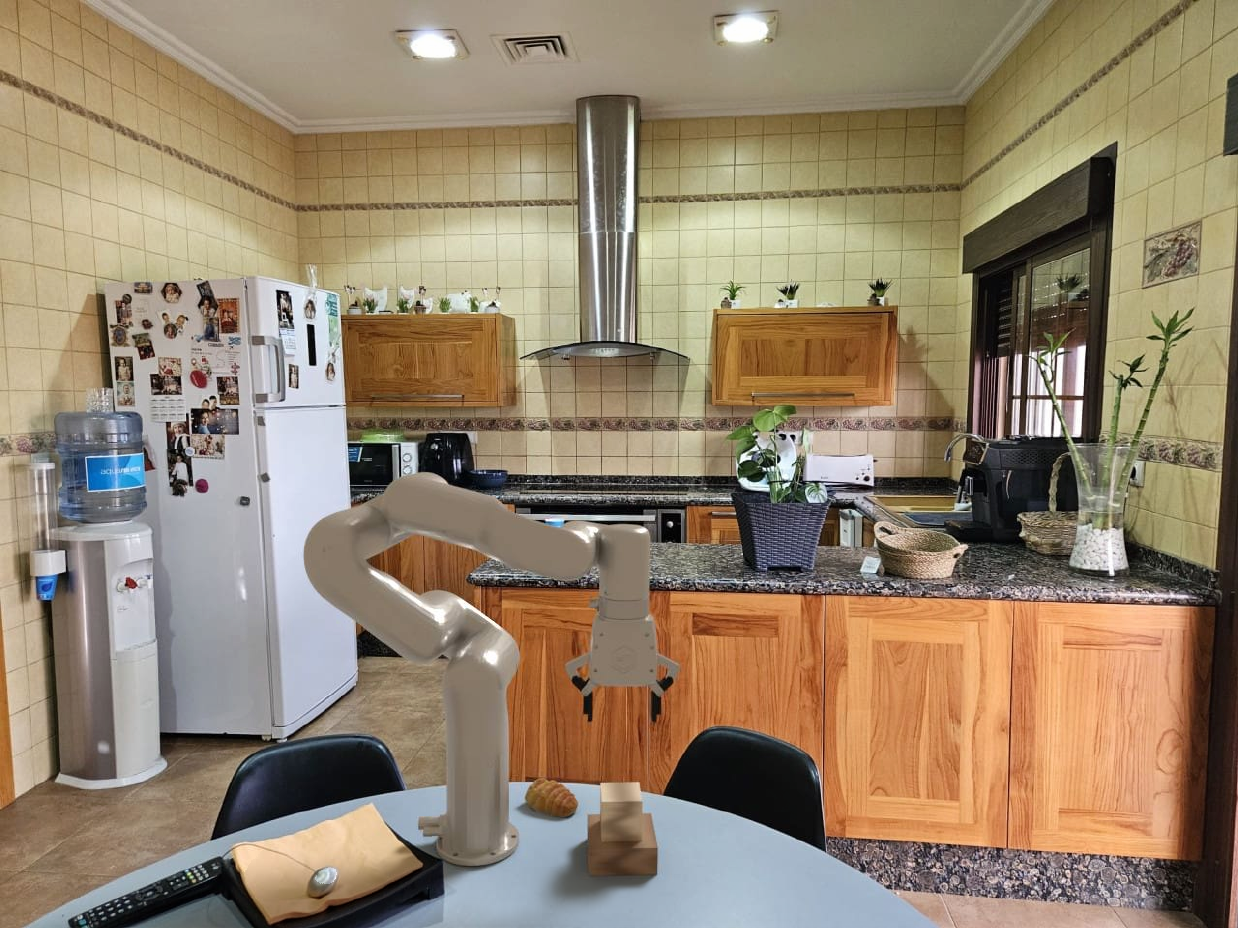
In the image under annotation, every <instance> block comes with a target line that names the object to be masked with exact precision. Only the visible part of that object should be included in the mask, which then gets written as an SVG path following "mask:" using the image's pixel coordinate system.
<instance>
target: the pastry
mask: <svg viewBox="0 0 1238 928" xmlns="http://www.w3.org/2000/svg"><path fill="white" fill-rule="evenodd" d="M524 800H525V802H526V804H527V805H528V807H529V809H533V810H534V811H535V812H537V811H538V812H537V813H540V812H541V813H540V814H544V815H547V814H548V815H547V816H551V815H552V817H555V816H556V817H557V818H559V817H560V818H562V817H563V818H567V817H569V816H571V815H573V814H575V813H576V811H577V809H578V806H579V801H578V800H577V798H576V795H575V794H573V793H571V791H570V789H569V788H566V786H565V785H563V784H562V783H559V782H557V781H556V780H555V779H554V780H553V779H551V780H547V779H546V778H543V777H540V778H537V779H535V780H534V781H532V784H530V785H529V786H528V788H527V790H526V793H525V797H524Z"/></svg>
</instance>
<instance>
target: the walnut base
mask: <svg viewBox="0 0 1238 928" xmlns="http://www.w3.org/2000/svg"><path fill="white" fill-rule="evenodd" d="M654 827H655V826H654V822H653V817H652V813H651V812H642V841H601V826H600V813H593V814H592V813H589V814H588V813H587V860H588V861H587V862H588V863H587V865H588V876H589V877H593V876H595V877H599V876H600V877H601V876H634V875H635V876H637V875H639V876H640V875H644V876H645V875H658V861H659V860H658V858H659V857H658V855H659V847H658V842H657V838H656V833H655V828H654Z"/></svg>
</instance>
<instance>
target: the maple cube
mask: <svg viewBox="0 0 1238 928" xmlns="http://www.w3.org/2000/svg"><path fill="white" fill-rule="evenodd" d="M599 788H600V793H599V794H600V798H599V799H600V801H599V802H600V803H599V805H600V807H599V812H600V813H599V814H600V826H601V841H642V813H643V802H644V801H643V797H642V791H641V784H640V781H639V782H638V781H637V782H636V781H635V782H632V781H631V782H627V781H626V782H600V787H599Z"/></svg>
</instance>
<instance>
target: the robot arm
mask: <svg viewBox="0 0 1238 928" xmlns="http://www.w3.org/2000/svg"><path fill="white" fill-rule="evenodd" d="M414 535H418V536H422V537H426V538H429V539H433V540H436V541H440V542H445V543H448V544H452V545H456V546H458V547H459V546H460V547H462V548H466V549H470V550H473V551H476V552H478V553H480V554H482V555H483V556H485V557H487V558H490V559H492V560H494V561H497V562H499V563H501V564H503V565H505V566H508V567H510V568H513V569H516V570H519V571H522V572H525V573H529V574H534V575H538V576H540V577H544V578H548V579H552V580H556V581H564V582H571V581H576V580H579V579H581V578H583V577H584V576H586V575H587V574H588V573H589V572H590V571H591V569H592V568H598V571H599V583H598V585H599V589H598V590H599V591H598V596H597V597H596V598H594V599H589V609H594V610H596V611H597V613H596V614H594V617H593V621H592V626H591V632H590V634H591V635H590V639H589V640H590V641H589V651H588V652H586V653H583V654H581V655H580V656H577V657H576V658H574V659H572V660H569V661H567V662H566V663H565V667H564V669H565V671H566V672H567V675H568V677H569V679H570V681H571V683H572V684H573V685H574V687H575V688H577V690H579V692H581V695H583V697H582V698H583V699H582V700H583V701H582V702H583V704H582V708H583V709H582V711H583V712H582V715H587V723H591V722H593V716H594V714H593V710H594V708H593V706H594V703H593V702H594V692H593V690H594V689H595V688H596V687H597V686H599V687H649V688H650V689H651V690H652V691H650V710H649V711H650V712H649V713H650V718H651V719H650V721H651V722H653V723H657V720H658V719H657V717H658V716H660V715H662V696H663V695H664V694H665V692H666V691H667V690H669V688H670V687H671V686H672V685H673V684H674V682H675V680H676V679H677V676H678V675H679V673H680V671H681V666H680V665H681V664H679V663H678V662H676V661H674V660H672V659H670V658H668V657H667V656H666V655H663V654H661V653H659V652H658V643H657V641H658V639H657V631H656V629H657V628H656V623H655V622H656V621H655V619H654V617H653V615H652V614H650V581H651V580H650V579H651V578H650V574H651V572H650V571H651V569H650V568H651V534H650V532H649V530H648V528H646V527H644V526H642V525H639V524H628V523H617V524H609V525H608V524H604V523H603V524H602V523H596V522H592V521H591V522H590V521H585V520H571V521H567V522H565V523H563V524H562V525H561V526H556V525H552V524H548V523H545V522H541V521H538V520H534V519H531V518H528V517H525V516H523V515H520V514H518V513H515V512H514V511H512V510H510V509H509V508H507V507H506V506H505V505H504V504H503V502H501V501H500V500H499V499H497V498H496V497H495V496H492V495H489V494H485V493H481V492H477V491H474V490H470V489H467V488H463V487H459V486H455V485H452V484H449V483H448V481H447V480H446V479H444V478H443V477H442V476H440V475H438V474H436V473H434V472H428V471H427V472H426V471H420V472H415V473H412V474H407V475H402V476H399V477H398V478H396V479H394V480H392V482H390V483H389V484H388V486H387V487H386V488H385V490H384V492H383V493H381V494H379V495H377V496H376V497H374V498H371V499H370V500H368V501H366V502H364V503H362V504H360V505H356V506H354V507H350V508H347V509H343V510H339V511H335V512H333V513H330V514H328V515H327V516H324V517H323V518H321V519H320V520H318V521H317V522H316V523H314V525H313V526H312V528H311V529H310V531H309V532H308V534H307V537H306V538H305V540H304V541H305V542H304V547H303V552H302V553H303V557H302V558H303V565H304V569H305V573H306V576H307V578H308V580H309V582H310V584H311V585H312V587H313V588H314V590H315V591H316V592H317V594H318V595H320V596H321V597H322V598H323V599H324V600H325V601H326V602H327V603H329V604H330V605H331V606H333V607H334V608H336V609H337V610H339V611H340V612H341V613H343V614H345V615H346V616H348V617H349V618H351V620H353V621H354V622H356V623H357V624H358V625H360V626H361V627H362V628H363V629H365V630H366V631H367V632H369V633H370V634H371V635H372V636H374V637H376V638H377V639H378V640H379V641H381V642H382V643H383V644H385V645H386V646H387V647H389V648H390V649H391V650H393V651H394V652H396V653H397V654H398V655H399V656H401V657H402V658H404V659H406V660H407V661H409V662H411V663H413V664H417V665H425V664H428V663H432V662H433V661H436V660H437V659H438V658H440V657H441V656H442V655H443V656H444V657H446V658H447V659H449V660H448V662H447V664H446V665H445V668H444V671H443V674H442V680H441V695H442V704H443V709H444V718H445V719H444V721H445V753H446V754H445V757H446V758H445V761H446V764H445V767H446V772H445V773H446V775H445V777H446V779H445V780H446V787H445V788H446V789H445V791H446V793H445V794H446V811H445V814H444V813H443V814H439V816H419V817H418V821H417V829H418V831H422V837H423V838H427V837H428V838H429V837H430V838H431V837H437V838H436V840H435V841H436V843H435V844H436V846H435V848H436V852H437V853H438V855H439V857H440V858H441V859H443V860H444V861H447V862H448V863H451V864H453V865H457V866H461V867H462V866H463V867H479V866H486V865H491V864H494V863H497V862H500V861H502V860H504V859H506V858H507V857H509V856H511V855H512V854H513V853H514V851H515V850H517V848H518V846H519V842H520V838H519V837H520V833H519V831H518V829H517V827H516V826H515V825H514V824H512V823H511V822H510V744H509V743H510V741H509V739H510V727H509V726H510V725H509V713H508V703H507V691H508V686H509V685H510V683H511V681H512V680H513V677H514V676H515V674H516V673H517V670H518V668H519V665H520V661H521V654H520V649H519V646H518V643H517V642H516V640H515V639H514V637H513V636H512V635H511V634H510V633H509V632H508V631H507V630H505V628H503V627H501V626H500V625H499V624H498V623H497V622H495V621H493V620H492V619H491V618H489V617H488V616H486V614H484V613H482V612H481V611H480V610H478V609H477V608H476V607H474V606H473V605H472V604H470V603H469V602H467V601H466V600H464V599H463V598H461V597H460V596H458V595H456V593H455V594H454V593H452V592H450V591H446V590H441V589H435V590H434V589H433V590H429V591H426V592H424V593H422V594H418V593H416V592H414V591H413V590H411V589H410V588H408V587H407V586H405V585H403V583H401V581H399V580H398V579H396V578H395V577H393V576H392V575H391V574H389V573H387V572H385V571H382V570H380V569H378V568H376V567H374V566H372V565H371V564H369V563H368V562H367V560H368V559H370V558H372V557H374V556H377V555H379V554H380V553H383V552H385V551H387V550H388V549H389V548H392V547H394V546H396V545H397V544H399V543H400V542H403V541H405V540H406V539H408V538H409V539H410V538H411V537H413V536H414ZM585 665H588V674H589V675H588V677H587V678H586V679H584V678H583V677H582V676H581V675H580V674H579V673H578V669H579V668H582V667H583V666H585ZM658 665H659V666H661V667H663V668H665V669H666V670H668V671H667V674H665V676H663V677H662V679H660V680H659V679H658Z"/></svg>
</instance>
